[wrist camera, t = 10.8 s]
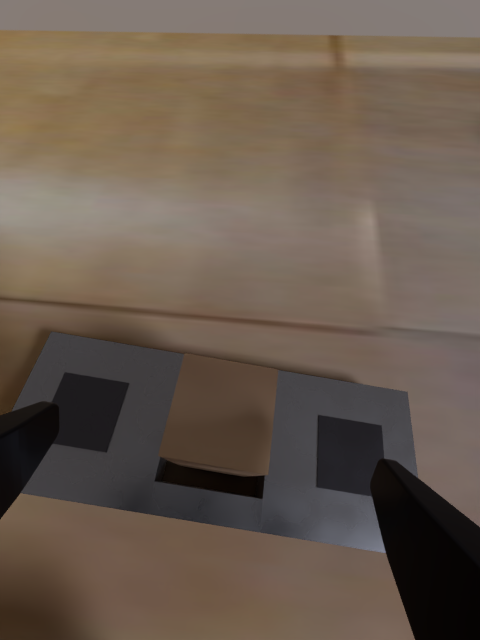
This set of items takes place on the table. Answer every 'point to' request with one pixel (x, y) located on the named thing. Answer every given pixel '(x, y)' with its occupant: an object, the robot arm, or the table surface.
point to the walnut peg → (221, 417)
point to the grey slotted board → (201, 503)
